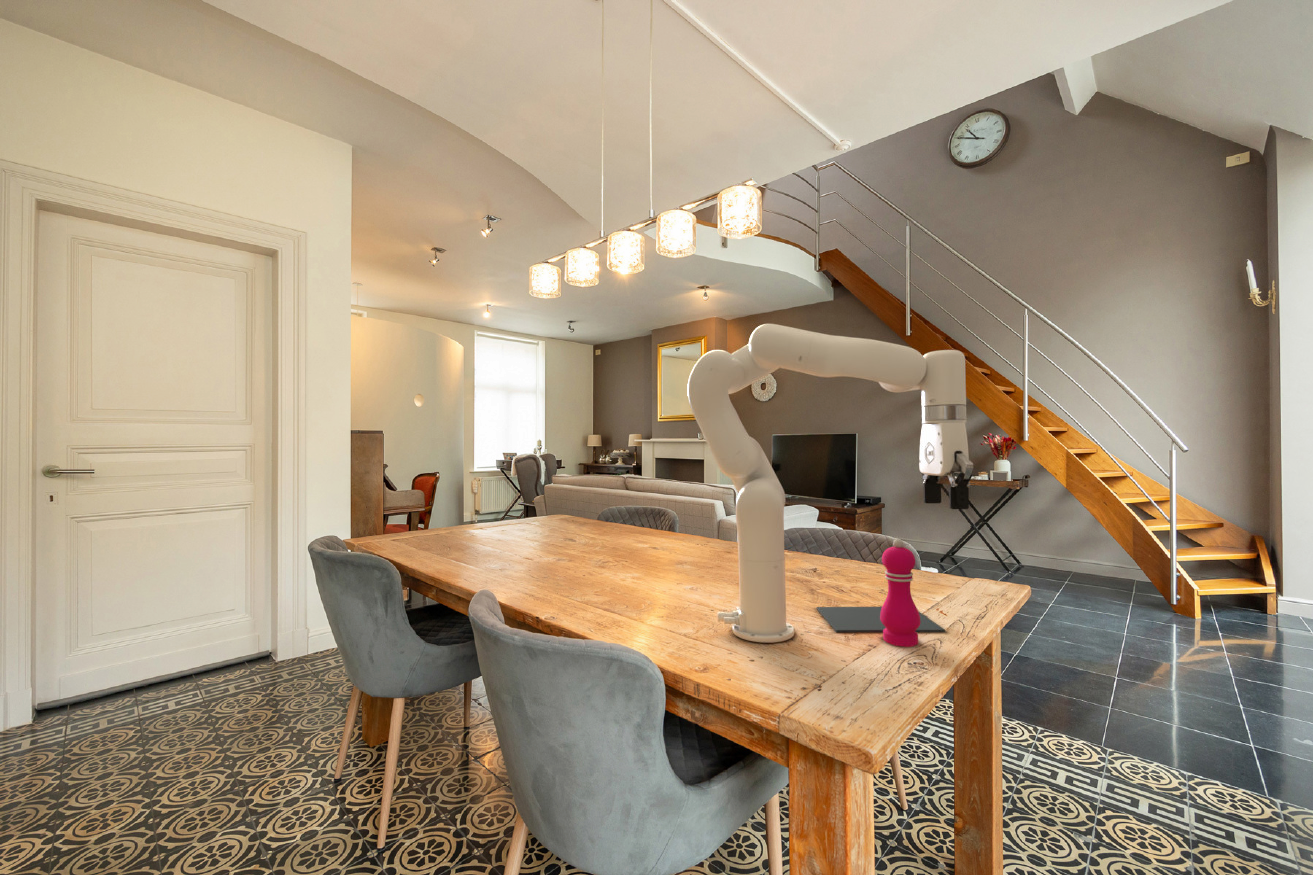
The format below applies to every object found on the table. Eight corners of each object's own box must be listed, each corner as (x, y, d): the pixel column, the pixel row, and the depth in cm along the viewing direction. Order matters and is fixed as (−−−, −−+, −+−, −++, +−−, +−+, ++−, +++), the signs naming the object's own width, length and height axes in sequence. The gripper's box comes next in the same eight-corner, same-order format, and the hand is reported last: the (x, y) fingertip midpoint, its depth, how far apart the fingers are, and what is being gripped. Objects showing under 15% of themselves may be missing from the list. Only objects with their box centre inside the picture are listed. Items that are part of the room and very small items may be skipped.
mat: (836, 632, 110) (836, 630, 110) (816, 608, 126) (816, 606, 126) (945, 632, 109) (945, 629, 109) (911, 608, 125) (911, 606, 125)
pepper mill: (880, 645, 103) (878, 541, 103) (880, 632, 110) (877, 535, 110) (922, 650, 100) (919, 543, 101) (919, 637, 107) (916, 536, 107)
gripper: (903, 418, 111) (905, 501, 111) (947, 413, 94) (949, 511, 93) (940, 418, 111) (942, 501, 110) (990, 413, 93) (992, 511, 93)
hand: (945, 505), depth 102 cm, fingers open, 9 cm apart
